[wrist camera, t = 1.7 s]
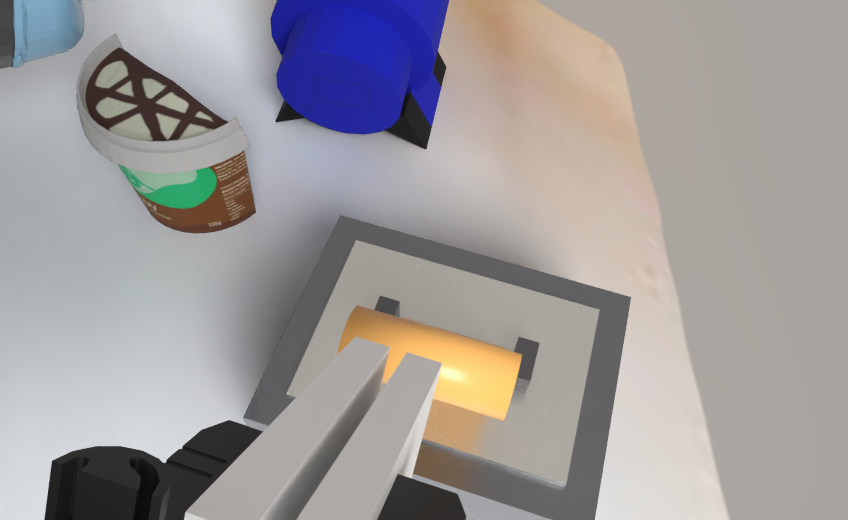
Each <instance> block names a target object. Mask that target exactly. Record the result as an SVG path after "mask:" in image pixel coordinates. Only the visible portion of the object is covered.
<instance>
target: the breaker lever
mask: <svg viewBox="0 0 848 520" xmlns="http://www.w3.org/2000/svg"><path fill="white" fill-rule="evenodd" d="M355 336H356V337H359V338H362V339H366V340H369V341H372V342H376V343H379V344H382V345H385V346H389V347H390V350H389V354H388V358H387V362H386V366H385V370H384V374H383V378H382V382H381V383H384V384H386V383H387V382H388V380H389V379H390V377H391V376H392V374H393V373H394V371H395V370H396V368H397V367H398V365H399V364H400V362H401V361H402V359H403V358H404V356H405V355H406V353H407V352H408V353H411V354H415V355H418V356H421V357H425V358H428V359H431V360H434V361H438V362H441V363H442V367H441V371H440V374H439V378H438V382H437V386H436V389H435V393H434V397H433V399H435V400H438V401H441V402H444V403H448V404H451V405H454V406H457V407H460V408H464V409H467V410H470V411H473V412H476V413H479V414H483V415H486V416H489V417H492V418H495V419H499V420H502V421H504V419H505V416H506V413H507V410H508V407H509V404H510V401H511V397H512V394H513V390H514V387H515V383H516V379H517V375H518V371H519V367H520V363H521V358H522V354H519V353H516V352H513V351H509V350H507V349H506V348H505V347H501V346H498V345H495V344H491V343H488V342H485V341H481V340H478V339H475V338H471V337H468V336H465V335H461V334H458V333H455V332H451V331H448V330H445V329H441V328H438V327H434V326H431V325H428V324H424V323H421V322H418V321H414V320H411V319H408V318H404V317H402V318H399V317H396V316H393V315H389V314H386V313H383V312H379V311H376V310H373V309H369V308H366V307H363V306H359V305H357V306H356V307H355V308H354V309H353V311H352V312H351V314H350V316H349V318H348V320H347V323H346V325H345V328H344V330H343V333H342V336H341V340H340V343H339V348H338V352H337V355H338V354H339V353H340V352H341V351H342V350H343V349H344V348H345V347H346V346H347V345H348V344H349V343H350V342H351V341H352V340H353V339H354V337H355Z"/></svg>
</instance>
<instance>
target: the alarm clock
mask: <svg viewBox="0 0 848 520" xmlns="http://www.w3.org/2000/svg"><path fill="white" fill-rule="evenodd" d="M448 3H449V0H277V2H276V4H275V7H274V10H273V13H272V16H271V30H272V37H273V39H274V41H275V43H276V45H277V47H278V49H279V52H280V54H281V55H282V56H283V57H282V60H281V63H280V66H279V69H278V71H277V74H276V75H277V87H278V89H279V91H280V93H281V95H282V96H283V98H284V100H285V101H284V103H283V105H282V108H281V110H280V112H279V115H278V117H277V119H276V122H280V121H287V120H293V119H299V118H307V119H308V120H310V121H312V122H314V123H316V124H319V125H321V126H323V127H326V128H328V129H332V130H336V131H340V132H344V133H353V134H369V133H376V132H380V131H382V130H386V131H388V132H390V133H392V134H394V135H396V136H398V137H400V138H403V139H405V140H407V141H409V142H411V143H413V144H415V145H418V146H420V147H422V148H424V149H426V148H427V144H428V140H429V136H430V132H431V128H432V124H433V119H434V115H435V111H436V107H437V103H438V99H439V95H440V90H441V86H442V82H443V78H444V74H445V70H446V66H445V64H444V62H443V60H442V58H441V56H440V54H439V52H438V47H439V43H440V38H441V34H442V29H443V25H444V21H445V16H446V12H447V7H448Z"/></svg>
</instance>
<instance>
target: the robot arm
mask: <svg viewBox="0 0 848 520" xmlns="http://www.w3.org/2000/svg"><path fill="white" fill-rule="evenodd" d="M83 31H84V15H83V9H82V3H81V0H0V69H1V68H7V67H13V68H16V67H20V66H22V65H23V64H24V62H27V61H31V60H35V59H39V58H43V57H47V56H51V55H55V54H59V53H63V52H66V51H68V50H69V49H71V48H72V47H74V46H75V45H76V44H77V42H78V41H79V40H80V38H81V37H82V35H83ZM389 350H390V347H389V346H385V345H382V344H379V343H376V342H372V341H369V340H366V339H362V338H359V337H356V336H355V337H354V339H353V340H352V341H351V342H350V343H349V344H348V345H347V346H346V347H345V348H344V349H343V350H342V351H341V352H340V353H339V354H338V355H337V356H336V357H335V358H334V359H333V360H332V361H331V362H330V363H329V364H328V365H327V366H326V367H325V368H324V369H323V370H322V372H321V373H320V374H319V375H318V376H317V377H316V378H315V379H314V380H313V381H312V382H311V383H310V384H309V385H308V386H307V387H306V388H305V389H304V390H303V391H302V392H301V393H300V394H299V395H298V396H297V397H296V398H295V399H294V400H293V401H292V402H291V403H290V405H289V406H288V407H287V408H286V409H285V410H284V411H283V412H282V413H281V414H280V415H279V416H278V417H277V418H276V419H275V420H274V421H273V422H272V423H271V424H270V425H269V426H268V427H267V428H266V429H265V430H264V431H260V430H257V429H254V428H251V427H248V426H245V425H242V424H239V423H236V422H233V421H230V420H229V421H226V422H223V423H220V424H217V425H214V426H212V427H209V428H206V429H203V430H201V431H200V432H199V433H198V434H196V435H195V436H194V437H193V438H192V439H191V440H189V441H188V442H187V443H186V444H185V445H183V448H182V449H179V450H177V451H176V452H175V453H174V454H173V455H172V456H170V457H169V458H168V459H167V461H166V463H162V462H161V461H160V459H158V458H156V457H154V456H152V455H150V454H148V453H146V452H144V451H141V450H136V449H131V448H126V447H121V446H96V447H91V448H86V449H81V450H76V451H72V452H70V453H68V454H66V455H63V456H61V457H59V458H57V459H55V460H53V461H52V466H51V473H50V481H49V489H48V497H47V504H46V512H45V520H466V514H465V512H464V509H463V506H462V504H461V501H460V498H459V496H458V494H457V493H454V492H451V491H448V490H445V489H442V488H439V487H436V486H433V485H430V484H427V483H424V482H421V481H418V480H415V479H412V474H413V471H414V467H415V463H416V460H417V456H418V452H419V448H420V445H421V441H422V437H423V434H424V430H425V426H426V423H427V419H428V415H429V411H430V408H431V404H432V400H433V397H434V393H435V389H436V386H437V382H438V378H439V374H440V371H441V367H442V363H441V362H438V361H434V360H431V359H428V358H425V357H421V356H418V355H415V354H411V353H408V352H407V353H406V355H405V356H404V358H403V359H402V361H401V362H400V364H399V365H398V367H397V368H396V370H395V371H394V373H393V374H392V376H391V377H390V379H389V380H388V382H387V383H386V385H385V386H384V388H383V389H382V391H381V392H380V394H379V390H380V386H381V382H382V378H383V374H384V370H385V366H386V362H387V358H388V354H389ZM378 394H379V395H378Z"/></svg>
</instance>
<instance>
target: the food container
mask: <svg viewBox="0 0 848 520" xmlns="http://www.w3.org/2000/svg"><path fill="white" fill-rule="evenodd" d="M76 97H77V107H78V111H79V115H80V120H81V124H82V127H83V130H84V133H85V135H86V137H87V139H88V140H89V142H90V143H91V145H92V146H93V147H94V148H95V149H96V150H97V151H98V152H99V153H100V154H102V155H103V156H105V157H106V158H108V159H109V160H111V161H112V162H115V163H117V164H118V165H119V167H120V168H121V170H122V171H123V173H124V174H125V176H126V177H127V179H128V180H129V182H130V183H131V185H132V186H133V188H134V189H135V191H136V192H137V194H138V195H139V197H140V198H141V200H142V201H143V203H144V204H145V206H146V207H147V209H148V210H149V212H150V213H151V215H152V216H153V217H154V218H155V219H156V220H157V221H159V222H160V223H162V224H163V225H165V226H167V227H169V228H171V229H174V230H178V231H181V232H188V233H208V232H215V231H219V230H223V229H227V228H229V227H232V226H234V225H237V224H239V223H241V222H242V221H244V220H246V219H248V218H249V217H250V216H252V215H253V214H254V213H256V210H255V205H254V200H253V194H252V189H251V184H250V179H249V173H248V168H247V163H246V158H245V152H244V150H245V149H247V148H248V147H250V145H249V143H248V141H247V138H246V136H245V133H244V131H243V128H242V127H240V126H239V122H238V119H237V118H235V119H233V120H231V121H230V122H228V121H225V120H223V119H222V118H220V117H218V116H217V115H216V114H214V113H213V112H211V111H210V110H209V109H207V108H206V107H205V106H203V105H202V104H201V103H199V102H198V101H197V100H196V99H194V98H193V97H192V96H191V95H190V94H188V93H187V92H186V91H185V90H184V89H182V88H181V87H180V86H179V85H177V84H176V83H175V82H173V81H172V80H170V79H168V78H167V77H165V76H163V75H161V74H159V73H158V72H156V71H154V70H152V69H151V68H149V67H148V66H146V65H145V64H143V63H142V62H140V61H139V60H138V59H136V58H135V57H133V56H132V55H130V54H129V53H128V52H126V51H125V50H124V49H123V47H122V45H121V43H120V41H119V39H118V37H117V35H116V34H114V35H113V36H111V37H110V38H108V39H107V40H105V41H104V42H103V43H102V44H101V45H99V46H98V47H97V48H96V49H95V50H94V51H93V52H92V54H91V55H90V56H89V57H88V58H87V60H86V62H85V63H84V65H83V67H82V69H81V72H80V74H79V77H78V84H77V96H76Z"/></svg>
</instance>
